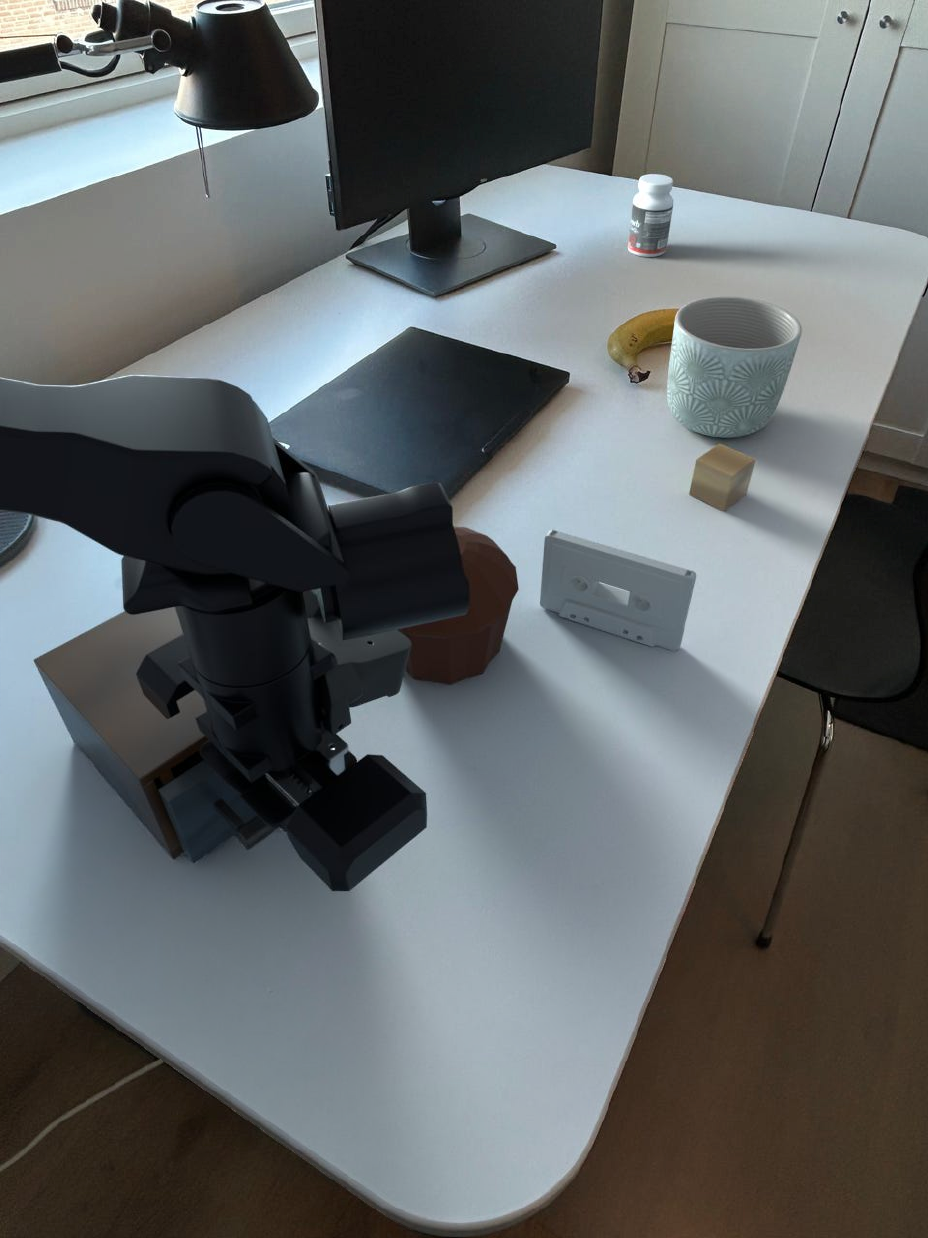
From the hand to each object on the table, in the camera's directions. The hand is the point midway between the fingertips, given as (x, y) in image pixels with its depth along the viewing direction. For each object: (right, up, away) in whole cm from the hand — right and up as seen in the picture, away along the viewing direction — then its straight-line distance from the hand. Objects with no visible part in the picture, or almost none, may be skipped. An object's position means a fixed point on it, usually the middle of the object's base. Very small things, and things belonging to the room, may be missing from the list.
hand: (295, 827), depth 53 cm
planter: (+38, +34, +43) cm, 66 cm away
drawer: (-6, +2, +7) cm, 9 cm away
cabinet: (-9, +3, +10) cm, 14 cm away
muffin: (+9, +10, +18) cm, 22 cm away
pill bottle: (+37, +67, +77) cm, 108 cm away
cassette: (+22, +12, +19) cm, 31 cm away
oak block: (+35, +25, +32) cm, 53 cm away
